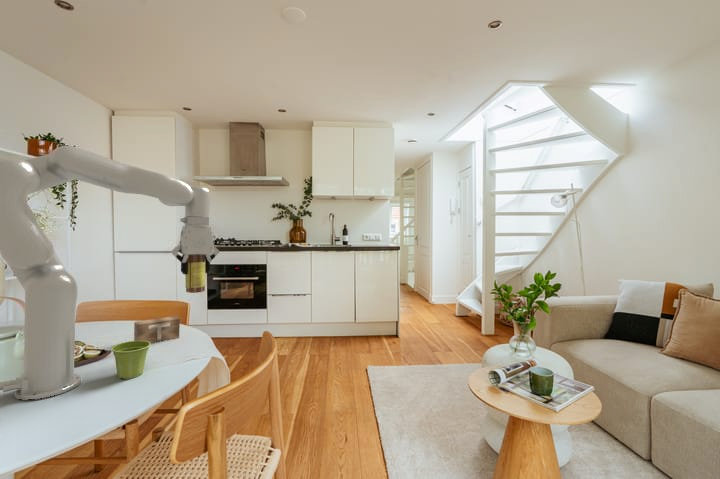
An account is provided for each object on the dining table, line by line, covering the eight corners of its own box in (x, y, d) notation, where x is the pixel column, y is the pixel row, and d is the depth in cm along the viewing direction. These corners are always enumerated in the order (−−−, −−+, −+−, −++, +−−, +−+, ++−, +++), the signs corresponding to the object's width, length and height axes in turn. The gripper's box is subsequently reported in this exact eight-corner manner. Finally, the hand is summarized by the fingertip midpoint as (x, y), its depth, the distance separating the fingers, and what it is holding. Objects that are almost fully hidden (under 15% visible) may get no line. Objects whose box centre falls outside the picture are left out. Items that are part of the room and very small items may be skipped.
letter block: (136, 346, 114) (137, 325, 114) (133, 342, 118) (134, 321, 118) (179, 338, 124) (180, 318, 124) (175, 335, 128) (176, 315, 128)
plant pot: (146, 365, 99) (147, 338, 99) (153, 375, 92) (153, 346, 92) (108, 373, 92) (109, 344, 92) (112, 385, 85) (113, 354, 85)
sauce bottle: (208, 290, 112) (210, 235, 112) (198, 293, 106) (200, 235, 106) (191, 289, 113) (193, 235, 113) (180, 292, 107) (182, 234, 107)
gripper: (172, 220, 100) (170, 276, 101) (226, 223, 113) (224, 273, 113) (166, 221, 106) (164, 273, 106) (218, 223, 118) (216, 271, 118)
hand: (195, 272), depth 109 cm, fingers closed on sauce bottle, 6 cm apart
